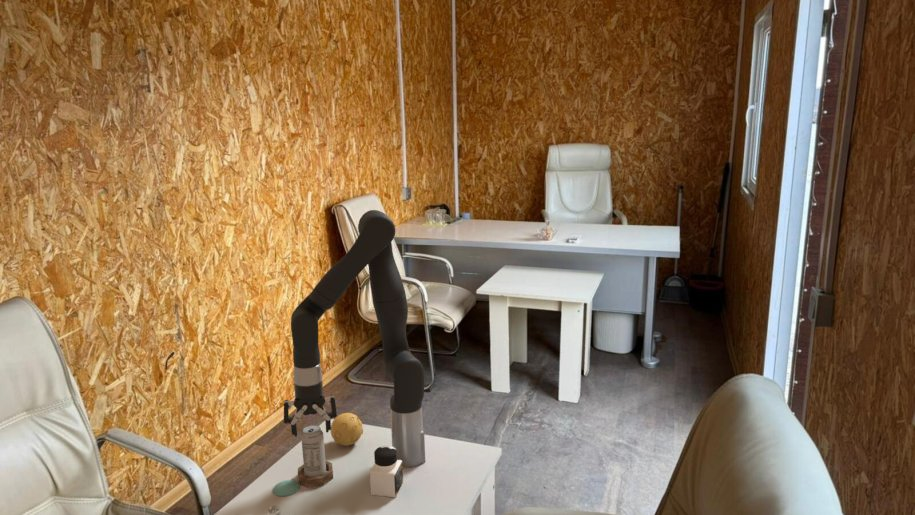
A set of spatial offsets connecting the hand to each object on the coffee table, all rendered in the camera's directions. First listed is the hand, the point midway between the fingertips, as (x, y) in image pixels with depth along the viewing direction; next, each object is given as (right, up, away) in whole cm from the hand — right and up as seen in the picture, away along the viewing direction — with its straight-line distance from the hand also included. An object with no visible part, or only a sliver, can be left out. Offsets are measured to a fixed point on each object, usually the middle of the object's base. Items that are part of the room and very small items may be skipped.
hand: (311, 433), depth 171 cm
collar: (0, -13, +3) cm, 14 cm away
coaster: (-7, -15, -2) cm, 16 cm away
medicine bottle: (+21, -15, -3) cm, 26 cm away
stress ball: (+6, -10, +21) cm, 24 cm away
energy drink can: (0, -14, +3) cm, 14 cm away
